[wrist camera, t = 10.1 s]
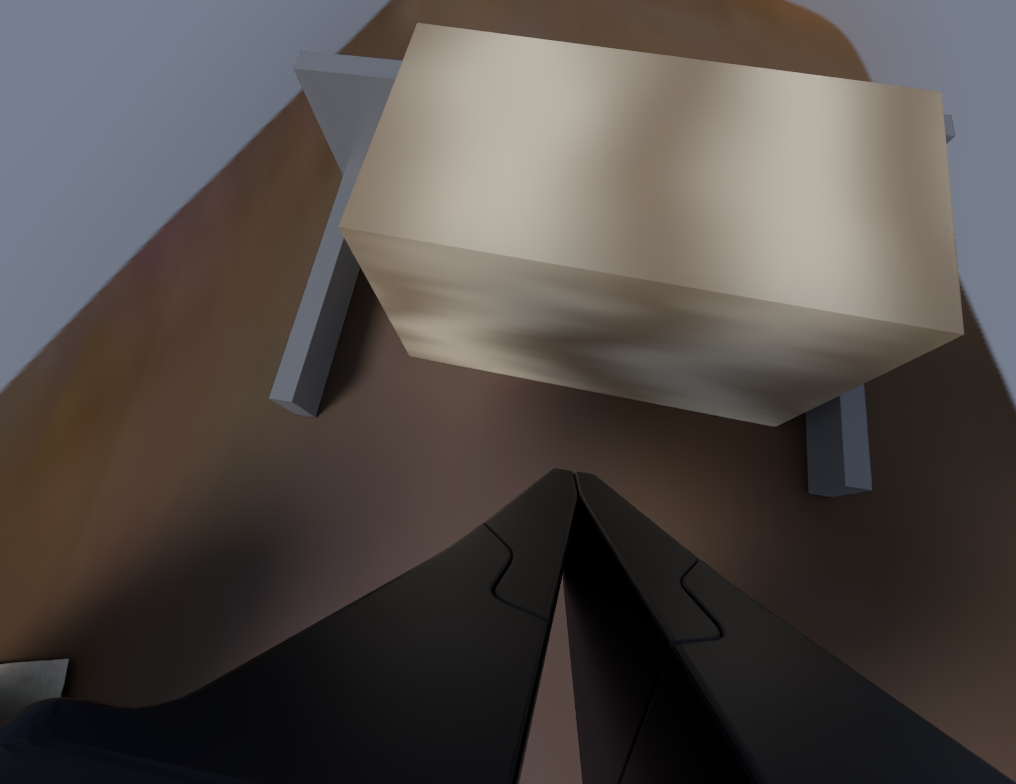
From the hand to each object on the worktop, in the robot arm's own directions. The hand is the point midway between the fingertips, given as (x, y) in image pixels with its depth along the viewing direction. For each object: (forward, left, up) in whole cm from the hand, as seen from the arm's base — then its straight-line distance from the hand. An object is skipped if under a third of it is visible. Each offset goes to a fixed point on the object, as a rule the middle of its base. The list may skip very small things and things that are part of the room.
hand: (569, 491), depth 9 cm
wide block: (+1, +8, -8) cm, 11 cm away
